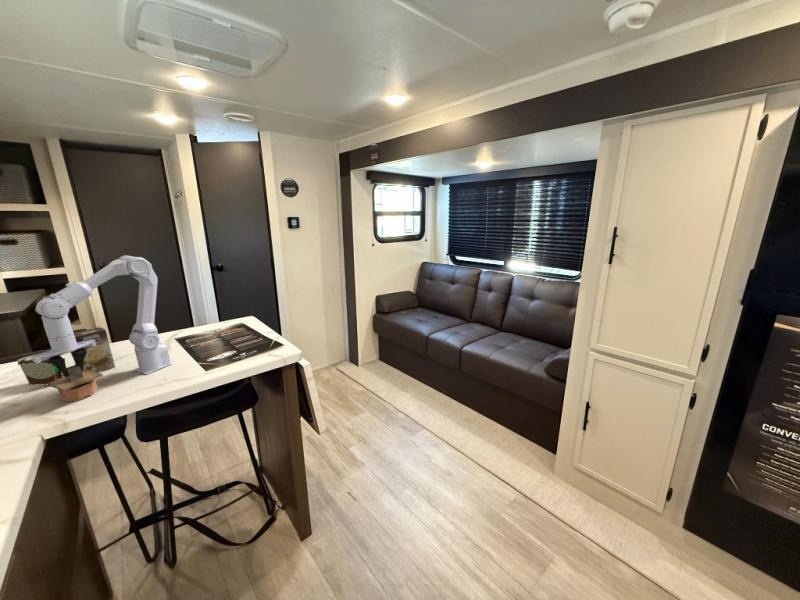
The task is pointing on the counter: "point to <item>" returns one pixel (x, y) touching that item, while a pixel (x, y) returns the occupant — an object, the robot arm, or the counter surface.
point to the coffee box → (96, 350)
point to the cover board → (75, 383)
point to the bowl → (79, 391)
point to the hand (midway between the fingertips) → (73, 373)
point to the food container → (39, 371)
